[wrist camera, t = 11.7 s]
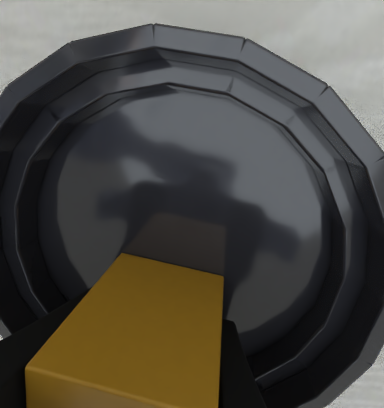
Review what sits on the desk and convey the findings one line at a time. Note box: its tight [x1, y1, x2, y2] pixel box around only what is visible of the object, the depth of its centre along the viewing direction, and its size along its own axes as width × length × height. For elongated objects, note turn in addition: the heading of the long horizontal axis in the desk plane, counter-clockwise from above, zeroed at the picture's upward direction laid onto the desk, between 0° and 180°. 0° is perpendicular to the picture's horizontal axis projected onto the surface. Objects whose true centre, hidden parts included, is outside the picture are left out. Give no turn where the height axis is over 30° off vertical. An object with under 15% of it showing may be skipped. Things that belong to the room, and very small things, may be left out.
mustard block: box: [25, 253, 224, 408], centre depth 8 cm, size 4×4×5 cm
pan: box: [0, 23, 384, 408], centre depth 9 cm, size 13×13×2 cm
